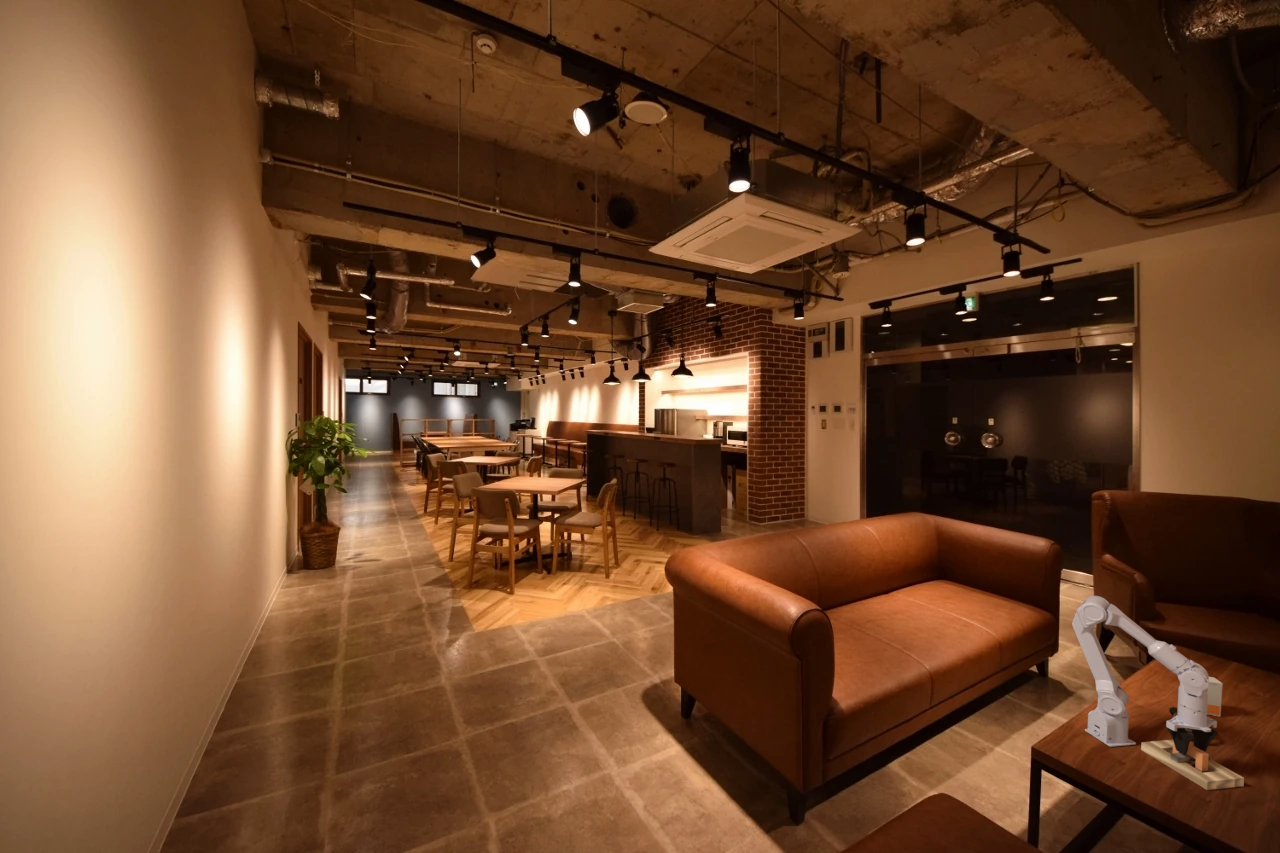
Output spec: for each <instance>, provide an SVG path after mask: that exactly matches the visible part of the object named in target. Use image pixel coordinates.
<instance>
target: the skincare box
mask: <svg viewBox="0 0 1280 853" xmlns="http://www.w3.org/2000/svg"><path fill="white" fill-rule="evenodd" d="M1208 684H1209V686H1208V688H1207V689H1208V692H1207V695H1208V706H1207V716H1208V715H1209V716H1215V717H1219V718H1220V717H1221V716H1222V715H1221V713H1222V701H1223V700H1222V699H1223V698H1222V697H1223V685H1224V684H1223V682H1222V681H1220V680H1218V679H1217V678H1216V677H1213V676H1209V682H1208Z"/></svg>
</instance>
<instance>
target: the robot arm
mask: <svg viewBox="0 0 1280 853" xmlns="http://www.w3.org/2000/svg"><path fill="white" fill-rule="evenodd" d="M1104 621H1105V624H1104V625H1106V626H1113V627H1118V628H1120V629H1121V630H1123V631H1124V632H1125V633H1127V634H1128V635H1130V637H1132V638H1134V640H1136V641H1138V642H1139V643H1141V644H1142V645H1143V646H1144V647H1146V648H1147V653H1148V654H1149V655H1150V656H1151V657H1152V658H1154V659H1155V660H1156V661H1157V662H1158V663H1160V664H1161V665H1162V666H1164V667H1165V668H1166V669H1168V670H1169V671H1170V672H1171V673H1173V674H1175V675H1176V676H1177V678H1178V681H1179V686H1178V687H1177V688H1178V691H1177V696H1178V697H1177V709H1178V712H1177V715H1176V716H1175V717H1174V718H1172V717H1171V719H1168V720H1166V721H1165V722H1166V723H1165V727H1166V730H1167V731H1168V732H1169V734H1170V736H1171V739H1172V740H1173V741H1174V744H1175V748H1176V750H1177V751H1179V752H1180V753H1182V754H1184V755H1186V754H1187V752H1188V746H1189V743H1190V742H1191V741H1193V746H1195V747H1197V748H1199V749H1200V750H1202V751H1204V752H1206V753H1207V750H1208V748H1209V745H1210V744H1211V742H1212V741H1213V740H1214V739H1215V737H1217V736H1218V735H1219V734H1218V733H1219V732H1218V731H1217V730H1216V728H1217V727H1218V721H1217V720H1216V719H1213V718H1211V717H1209V716H1208V714H1207V706H1208V695H1207V692H1208V689H1207V688H1208V686H1209V684H1208V682H1209V677H1210V676H1209V673H1208V670H1206V669H1205V668H1204V667H1203V666H1202V665H1201V664H1199V663H1197V662H1196V661H1194V660H1192V659H1188V657H1186V656H1185V655H1183V654H1182V653H1181V652H1179V651H1178V650H1177V646H1175V645H1173V644H1169V643H1167V642H1165V641H1161V640H1157V639H1155V638H1154V637H1153V636H1152V635H1151V634H1149V633H1148V632H1147V631H1146V630H1145V629H1144V628H1142V627H1141V626H1140V625H1138V624H1137V623H1136V622H1135V621H1133V620H1132V619H1131V618H1130V617H1128V616H1127V615H1126V614H1125V613H1124V612H1123V611H1122V610H1120V608H1118V607H1117V606H1116V605H1115V604H1113V603H1110V602H1109V601H1108V600H1107V599H1106V598H1104V597H1102V596H1098V595H1090V596H1088V597H1086V598H1085V600H1084V601H1082V602H1081V604H1080V605H1079V606H1078V608H1077V609H1076V611H1075V614H1074V617H1073V619H1072V622H1071V625H1072V628H1073V630H1074V633H1075V636H1076V637H1077V638H1076V639H1077V640H1078V643H1079V645H1080V648H1081V650H1082V653H1083V654H1084V657H1085V659H1086V661H1087V664H1088V667H1089V670H1090V671H1091V674H1092V676H1093V679H1094V680H1095V689H1096V693H1097V705H1096V708H1094V709H1093V710H1090V711H1089V712H1088V714H1087V728H1085V729H1084V731H1085V733H1088V734H1089V735H1091V736H1092V737H1094V738H1096V740H1099V741H1100V742H1102V743H1104V744H1105V745H1107V746H1108V747H1111V748H1112V747H1121V746H1123V747H1124V746H1133V745H1136V744H1137V743H1136V742H1135V741H1134V740H1132V739H1130V738H1129V715H1130V714H1129V712H1128V711H1127V709H1126V707H1127V704H1128V703H1129V701H1130V700H1129V695H1128V692H1126V690H1124V688H1122V686H1121V685H1120V683H1119V681H1118V679H1116V678H1115V676H1114V673H1113V671H1112V669H1111V667H1110V665H1109V661H1108V660H1107V657H1106V655H1105V653H1104V650H1103V648H1102V646H1101V644H1100V641H1099V638H1098V636H1097V634H1096V632H1095V630H1094V627H1095V626H1096V625H1097V624H1100V623H1102V622H1104ZM1186 728H1189V729H1190V730H1192V733H1193V735H1191V734H1189V733H1187V731H1185V729H1186ZM1214 728H1215V729H1214ZM1192 739H1193V740H1192ZM1190 744H1191V743H1190Z"/></svg>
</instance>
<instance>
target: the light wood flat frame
mask: <svg viewBox="0 0 1280 853" xmlns="http://www.w3.org/2000/svg"><path fill="white" fill-rule="evenodd" d="M1140 745H1141V747H1140V750H1141V751H1142V752H1144V753H1145V754H1147V755H1148V756H1150V757H1152V758H1153V759H1155V760H1157V761H1159V762H1160V763H1162V764H1164V765H1166V767H1169V768H1170V769H1172V770H1174V772H1176V773H1178V774H1180V775H1181V776H1183V777H1185V778H1186V779H1189V781H1191V782H1193V783H1195V784H1197V785H1198V786H1200V787H1202V788H1203V789H1204V790H1206V791H1210V790H1212V791H1213V790H1221V789H1230V788H1239V787H1245V785H1244V784H1245V778H1244V776H1241V775H1239V773H1236V772H1234V771H1232V770H1231V769H1229V768H1227V767H1225V766H1223V765H1222V764H1220V763H1218V762H1216V761H1215V760H1214V759H1213V760H1212V759H1211V754H1209V753H1208V771H1204V772H1203V771H1200V770H1199V769H1197V768H1195V767H1194V766H1192V765H1191V764H1189V763H1192V764H1194V765H1195V763H1196V759H1194V758H1193V757H1191V756H1189V755H1187V754H1186V755H1184V754H1182V753H1173V739H1165V740H1151V741H1143V742H1142V741H1141V744H1140Z"/></svg>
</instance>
